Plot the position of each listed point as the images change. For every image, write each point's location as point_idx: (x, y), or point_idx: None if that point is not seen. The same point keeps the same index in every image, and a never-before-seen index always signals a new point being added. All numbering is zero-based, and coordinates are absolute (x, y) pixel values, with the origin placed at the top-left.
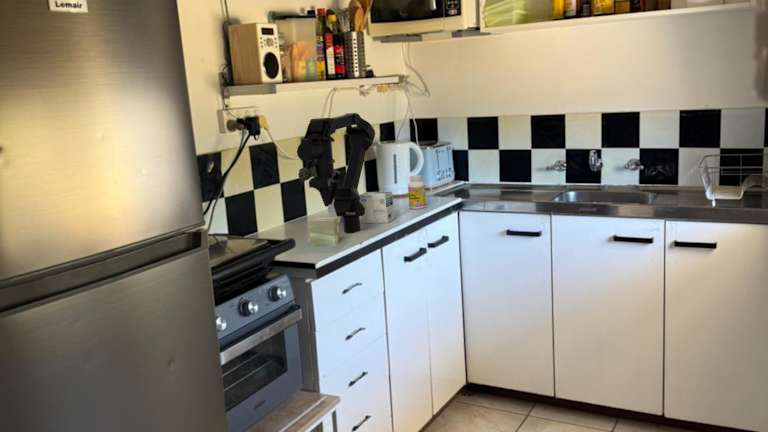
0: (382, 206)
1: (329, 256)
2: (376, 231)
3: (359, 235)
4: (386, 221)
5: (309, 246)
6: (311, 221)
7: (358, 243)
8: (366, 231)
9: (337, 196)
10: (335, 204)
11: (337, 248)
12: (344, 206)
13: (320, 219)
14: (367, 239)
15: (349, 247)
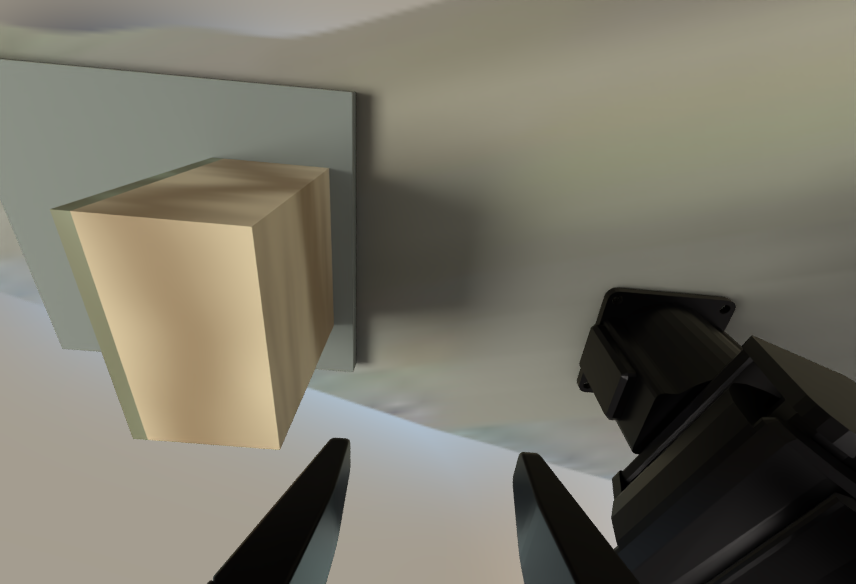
0: None
1: (43, 306)
2: (629, 447)
3: (561, 384)
4: None
5: (212, 142)
6: (62, 242)
7: (348, 400)
8: None
9: (852, 574)
10: (753, 446)
11: None
12: (655, 502)
13: (181, 322)
14: (436, 428)
15: None
